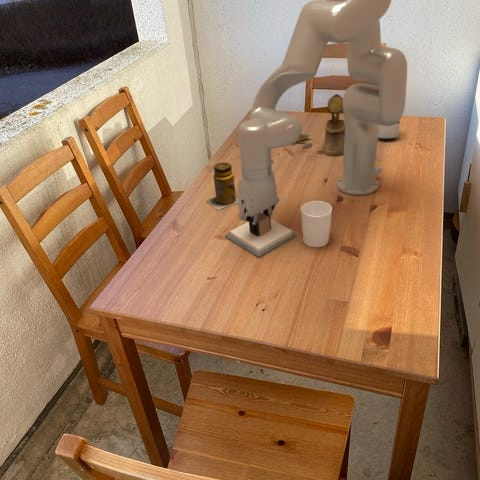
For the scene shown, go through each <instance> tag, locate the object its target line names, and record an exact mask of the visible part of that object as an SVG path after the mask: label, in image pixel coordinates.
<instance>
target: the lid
mask: <svg viewBox="0 0 480 480" xmlns="http://www.w3.org/2000/svg"><path fill="white" fill-rule="evenodd" d="M251 218H252V216H251ZM257 223H258V225H259V236H255V235H254V234H252V233H250V229H249V222H248V221H246V222H245V223H244V224H241V225H240V226H239V225H238V226H237V227H236V228H233V229H232V230H230V231H229V233H230V235H231V236H233V237H234V238H236V239H237V240H239V241H240V242H242V243H244V244H245V245H247V246H248V247H250V248H252V249H253V250H255V251H256V252H258V253H260V252H262V251H264V250H266V249H267V248H269V247H271V246H273V245H274V244H276V243H278V242H280V241H281V240H283V239H285V238H287V237H288V236H290V235H292V232H293V230H292V229H290V228H288V227H286V226H284V225H283V224H281V223H279V222H277V221H275V220H273V219H271V229H270V219H269V216H267V215H265V214H263V212H262V211H261V212H260V213H257Z"/></svg>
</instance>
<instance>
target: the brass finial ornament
mask: <svg viewBox="0 0 480 480" xmlns="http://www.w3.org/2000/svg"><path fill="white" fill-rule="evenodd" d="M327 110H328V112H329V113H330V114H331V119H328V120H327V121H326V124H325V127H324V130H325V134H324V135H325V136H324V140H323V144H322V149H321V151H322V153H323V154H324V155H326V156H329V157H330V156H331V157H340V156H344V139H345V120H344V119H339V118H340V113H342V112H343V96H341V95H339V94H338V93H336V94H334V95H333V96H331V97H330V98H329V99H328V101H327Z"/></svg>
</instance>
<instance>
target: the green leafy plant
mask: <svg viewBox="0 0 480 480" xmlns="http://www.w3.org/2000/svg"><path fill="white" fill-rule="evenodd" d="M306 140H310V138H309V134H302V133H301V135H300V137H299V139H298V140H297V141H296V142H294V143H293V144H292V145H295V144H296V143H298V144H300V143H301V144H305V145H306Z"/></svg>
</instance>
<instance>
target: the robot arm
mask: <svg viewBox="0 0 480 480" xmlns="http://www.w3.org/2000/svg"><path fill="white" fill-rule="evenodd" d="M391 3H392V0H312V1H309V2H306V4H305V5H304V6H302V8H301V11H300V12H299V15H298V18H297V21H296V24H295V27H294V30H293V33H292V35H291V39H290V41H289V44H288V47H287V50H286V53H285V55H284V59H283V61H282V63H281V65H280V66H279V67H278V68H277V69H275V70H274V71H273V73H272V74H271V75H270V76H268V77H267V78H266V80H265V81H264V82H263V84H261V86H260V88H259V89H258V91H257V93H256V95H255V97H254V101H253V103H252V107H251V109H250V114H249V118H248V120H245V121H243V122H241V123H240V124H239V126H238V129H237V130H238V142H239V155H240V166H241V176H240V177H239V179H238V186H237V187H238V188H237V189H238V190H237V198H238V203H237V204H238V210H239V212H238V216H237V218H238V219H239V220H240V221H243V222H249V229H250V233H252V234H254V235H255V236H259V225H258V223H257V214H258V213H260V212H261V213H263V214H265V215H267V216H269V219H270V229H271V220H272V219H271V217H272V216H273V211H274V209H275V207H276V205H278V203H279V201H280V199H279V197H278V190H277V182H276V178H275V174H274V171H273V169H272V168H273V167H272V165H273V164H274V160H273V159H272V150H273V149H278V148H283V147H284V148H285V147H289V146H290V145H294V144H293V143H294V142H296V141H297V140H299V137H300V135H301V134H302V130H303V128H302V123H301V122H300V120H299V119H298V118H296V117H295V116H293V115H291V114H287V113H285V112H282V111H281V110H276V107H277V105H278V102H279V101H280V100H281V99H280V98H281V97H282V96H283V94H284V93H285V92H287V91H288V90H289V89H291V88H292V87H294V86H297V85H299V84H301V83H305V82H307V81H310V80H312V79H314V78H315V77H316V75H317V73H318V69H319V67H320V64H321V61H322V58H323V57H324V53H325V52H326V48H327V46H328V43H335V44H340V45H341V44H346V53H347V54H346V56H347V57H346V62H347V64H346V65H347V72H348V75H349V77H350V78H351V79H353V81H354V80H355V81H357V82H359V83H354V84H351V85H350V86H348V88H347V89H345V92H344V94H343V96H342V98H343V111H342V112H343V118H344V124H345V139H344V155H343V159H342V162H343V164H342V176H340V178H339V179H338V180H337V183H336V186H337V188H338V189H339V191H341V192H343V193H345V194H349V195H353V196H366V195H369V194H372V193H374V192H376V191H378V189H379V184H380V183H379V181H378V179H377V178H376V176H377V174H380V173H381V172H382V171H383V168H382V166H380V165H378V166H376V159H377V147H378V141H379V140H378V129H377V124H379V125H383V126H393V125H395V124H396V123H398V122H399V120H400V121H401V119H402V117H403V115H404V112H405V107H406V100H407V99H406V98H407V97H406V96H407V81H408V79H407V78H408V61H407V57H406V55H405V54H404V53H403V51H401V50H400V49H397V48H393V47H390V46H389V47H388V46H383V45H382V41H381V40H382V39H381V38H382V37H381V22H380V21H381V20H380V19H382V17H384V16H385V14H386V13H387V11H388V10H389V8H390V5H391ZM296 143H297V142H296ZM251 217H252V218H251Z"/></svg>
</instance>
